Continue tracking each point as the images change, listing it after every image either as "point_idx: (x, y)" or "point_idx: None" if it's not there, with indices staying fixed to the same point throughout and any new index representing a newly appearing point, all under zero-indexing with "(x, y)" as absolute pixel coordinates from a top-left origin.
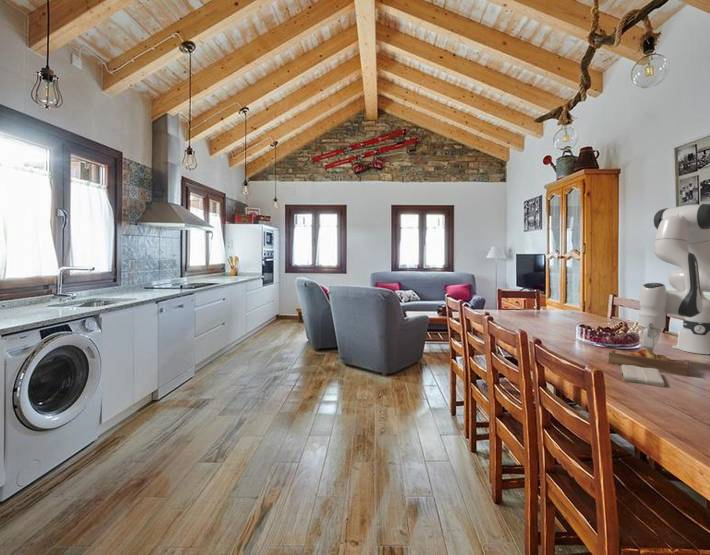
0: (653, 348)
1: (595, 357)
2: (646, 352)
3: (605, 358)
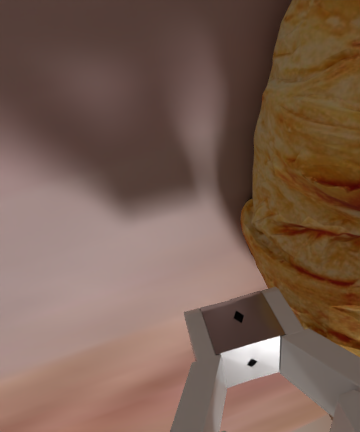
0: (209, 402)
1: (310, 413)
2: None
3: (298, 394)
